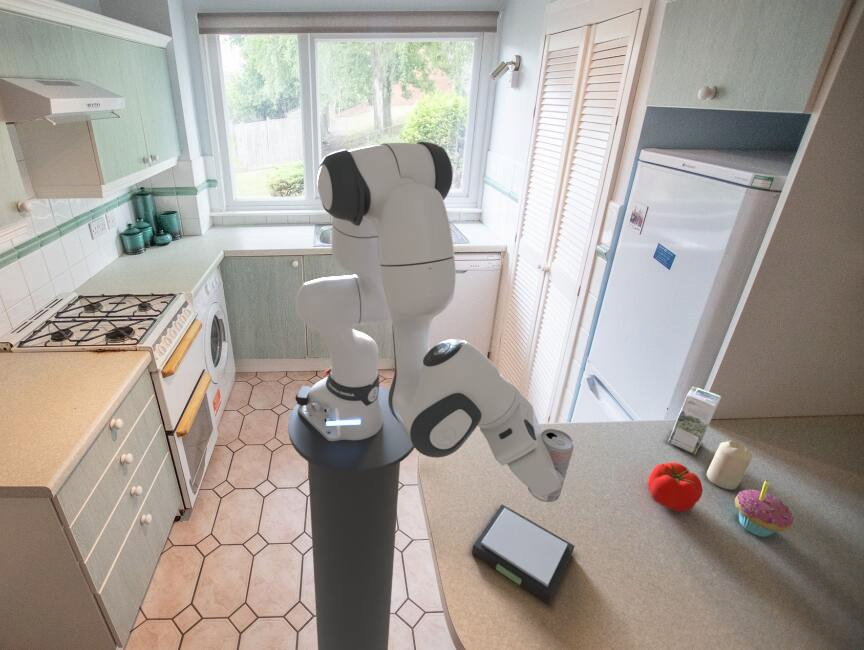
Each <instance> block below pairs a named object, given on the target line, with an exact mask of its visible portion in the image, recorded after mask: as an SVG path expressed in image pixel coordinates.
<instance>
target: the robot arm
mask: <svg viewBox="0 0 864 650" xmlns="http://www.w3.org/2000/svg"><path fill="white" fill-rule="evenodd" d="M453 175H454V173H453V165H452V161H451V158H450V156H449V154H448V152H447V151H446V149H445V148H444V147H443V146H442V145H440V144H437V143H433V142H429V141H418V142H415V143H414V142H387V143H386V142H385V143H384V142H383V143H381V144H378V145H370V146H369V145H368V146H363V147H359V148H358V147H357V148H353V149H350V150H348V149H340V150H337V151H332V152H331V153H329V154H327V155H325V156H324V157H323V159H322V160H321V162H320V164H319V166H318V172H317V181H316V182H317V183H316V185H317V192H318V193H317V194H318V197H319V199H320V202H321V204H322V205H321V206H322V207H323V209H324V211H325V212H326V213H328V214H329V216H332V223H331V250H330V251H331V252H330V253H331V256H332V258H333V260H334V262H335V263H336V264H337V265H338V267H340V268H341V269H342V270H343V271H345V272H347V273H349V274H351V275H339V276H327V277H321V278H317V279H313V280H310V281H306V282H304V283H303V284H302V285H301V286H300V287H299V289H298V291H297V292H296V293H297V294H296V296H295V310H296V314H297V315H298V318H299V319H300V321H301V322H302V323H304V325H305V326H307V327H309V328H310V329H312V330H314V331H315V332H317V333H318V334H319V335H320V336H321V338H323V340H324V341H325V343H326V344H327V348H328V351H329V357H330V358H329V359H330V366H329V367H328V369H327V370H324V372H323V373H322V377H323V378H322V379H321V380H319V381H317V382H316V383H315V384H313V385H312V386H308V385H307V386H306V385H301V387H300V389H299V391H298V393H297V394H296V395H295V401H296V405H297V404H299V407H298V412H299V413H300V414H301V415H302V416H303V417H304V418H305V419H306V420H307V421H308V422H309V423H310V424H311V425H313V426H314V427H315V428H316V429H317V430H318V431H319V432H320V433H321V434H322V435H323V436H324V437H325V438H326V439H327V440H328V441H338V440H362V439H366V438H369V437H371V436H373V435H375V434H376V433H377V432H378V431H379V430H380V429H381V427H382V424H383V419H382V415H381V412H380V406H379V399H378V392H379V386H380V371H379V346H378V344H377V342H376V340H374V339H373V338H372V337H371V336H369V335H368V334H367V333H365V332H363V331H359V330H356V329H354V327H357V326H362V325H371V324H381V323H387V322H391V327H392V340H393V342H392V343H393V352H394V353H393V355H394V374H393V378H392V382H391V384H390V391H389V397H388V403H389V408H390V410H391V413H392V414H393V416H394V417H395V418H396V419H397V421H398V422H399V423H400V424H401V426H402V428H403V429H404V431H405V433H406V434H407V436H408V437H409V439H410V441H411V442H412V444H413V446H414V447H415V448H414V449H415V450H416V451H417V452H419V453H420V454H421V455H423V456H426V457H428V458H433V459H434V458H435V459H436V458H437V459H439V458H445V457H447V456H450V455H452V454H454V453H456V452H457V451H458V450H459V449H460V448H461V447H462V446H463V445H464V444H465V442H467V440H468V439H469V438H470V436H471V435H472V434H473V432H474V431H476V429H477V427H478V428H479V430H480V432H481V433H482V435H483V436H484V438H485V439H486V442H487V444H488V446H489V448H490V451H491V452H492V455H493V457H494V459H495V460H496V461H497V462H498V464H500V465H501V466H505V465H507V467H508V468H509V470H510V471H511V473H513V475H514V476H515V477H516V478H517V479H518V480H519V481H520V482H522V484H524V485H525V486H526V487H527V489H528V488H529V489H531V490H532V491H533V492H534V493H535V494H537V495H539V496H545V495H548V494H550V493H552V492H554V491H556V490H557V489H559V488H560V487H561V482H563V481H564V482H565V479H564V478H563V475H562V473H561V471H559V470H558V469H557V468H555V467H554V464H553V462H552V459H551V456H550V453H549V451H548V449H547V447H546V445H545V443H544V441H543V439H542V437H541V434H542V432H543V431H542V429H541V426H540V423H539V421H538V417H537V415H536V413H535V409H534V406H533V404H532V403H531V402H530V400H529V399H528V398H527V397H526V396H525V395H524V394H523V392H521V391H520V390H519V389H518V388H517V387H516V386H515V385H514V383H512V382H511V381H510V380H509V379H506V378H504V377H503V376H502V374H501V372H500V370H499V369H498V367H497V366H496V364H494V362H492V361H491V360H490V359H489V358H488V357H487V356H486V355H485V354H484V353H483V352H481V350H479V349H478V348H477V347H476V346H474V344H472V343H470V342H469V341H467V340H464V339H461V338H450V339H446V340H443V341H441V342H439V343H437V344H435V345H434V346H433V347H432V348H431V339H430V338H431V337H430V336H431V335H430V331H431V330H430V329H431V323H432V321H433V320H434V318H435V317H437V316H438V315H439V314H441V313H443V312H444V311H445V310H446V309H447V308H448V306H450V304H451V303H452V301H453V299H454V298H455V297H454V296H455V290H456V278H457V274H456V273H457V271H456V258H455V248H454V247H455V246H454V241H453V234H452V229H451V225H450V224H451V223H450V218H449V215H448V212H447V208H446V204H445V201H444V200H445V199H446V198H447V197H448V195H449V193H450V190H451V188H452V184H453V177H454V176H453Z"/></svg>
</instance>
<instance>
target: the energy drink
mask: <svg viewBox="0 0 864 650" xmlns="http://www.w3.org/2000/svg"><path fill="white" fill-rule="evenodd" d="M541 437H542V439H543V441H544V443H545V445H546V447H547V449H548V451H549V453H550V456H551V459H552V462H553V464H554V467H555V468H557V469H558V470H559V471H561V473H562V475H563V478H564V481H563V482H561V487H560V488H559V489H557V490H556V491H554V492H552V493H550V494H548V495H545V496H539V495H537V494H535V493H534V492H533V491H532V490H531V489H529V488H528V487H527V490H528V491H529V493H530V494H531V495H532V497H534V498H535V499H537V500H538V501H539V502H543V503H553V502H556V501H558V500H559V499H560V496H561V493H562V490H563V486H564V483H565V479H566V476H567V473H568V469H569V466H570V462H571V459H572V455H573V452H574V448H575V447H574V439H573V438H572V437H571V435H569V434H567V433H566V432H564V431H562V430H560V429H556V428H547V429H544V430H543V431H542V434H541Z"/></svg>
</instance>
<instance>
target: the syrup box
mask: <svg viewBox="0 0 864 650" xmlns="http://www.w3.org/2000/svg"><path fill="white" fill-rule="evenodd" d="M721 399H722V396H721V395H719V394H717V393H713V392H711V391H709V390H705V389H702V388H700V387H697V386H694V385H692V387H691V388H690V390H689V391H688V393H687V394H686V397H685V399H684V402H683V404H682V406H681V408H680V412H679V414H678V416H677V419H676V422H675V424H674V426H673V428H672V432H671V434H670V436H669V439H668V441H667V443H668V444H669V445H672V446H675V447H677V448H678V449H681V450H683V451H685V452H687V453H690V454H692V455H696V454H697V452H698V450H699V448H700V446H701V444H702V442H703V440H704V437H705V435H706V433H707V430H708V428H709V425H710V423H711V421H712V419H713V417H714V415H715V413H716V411H717V409H718V406H719V404H720V401H721Z"/></svg>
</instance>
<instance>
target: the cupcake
mask: <svg viewBox="0 0 864 650" xmlns="http://www.w3.org/2000/svg"><path fill="white" fill-rule="evenodd" d="M769 485H770V482H769V481H768V478H766V479H765V481H764V482H763V486H762V489H761V490H756V489H750V488H749V489H743V490H740V491H739V492H738V493H737V495H736V496H735V498H734V505H735V508H736V510H738V511H739V512H738V521H739V524H740V525H742V526H741V527H743V528H744V529H745V530H746V531H747V532H750V533H751V534H753V535H755V536H758V537H768V536H770V535H772V534H774V533H776V532H781V533H784V532H786V531H789V530H791V529H792V527H793V523H794V519H795V517H794V516H793V513H792V511H791V510H790V508H789V506H787V505H786V504H785V503H784V502H783V501H782V500H781V499H780V498H777V497H776V496H775V495H773V494H770V493H767V491H768V488H769Z"/></svg>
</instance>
